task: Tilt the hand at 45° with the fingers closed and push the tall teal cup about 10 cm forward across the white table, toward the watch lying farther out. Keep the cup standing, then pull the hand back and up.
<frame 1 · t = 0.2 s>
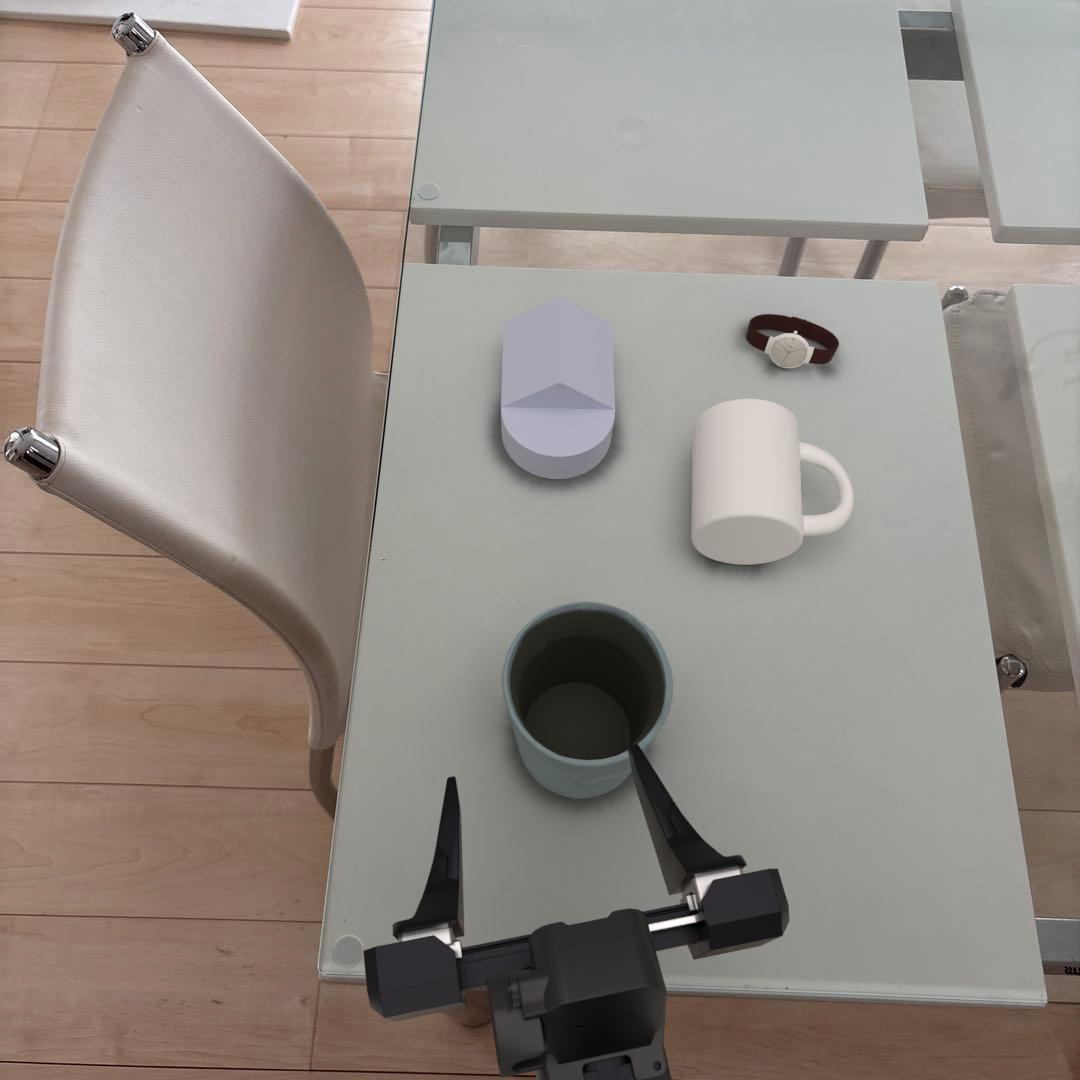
hand: (543, 761, 48), 18 cm above the table, tool horizontal, fingers open, 9 cm apart
watch: (786, 350, 83), on the table
wedge on round base: (556, 413, 79), on the table
teal cup: (575, 736, 67), on the table
mug: (759, 512, 75), on the table
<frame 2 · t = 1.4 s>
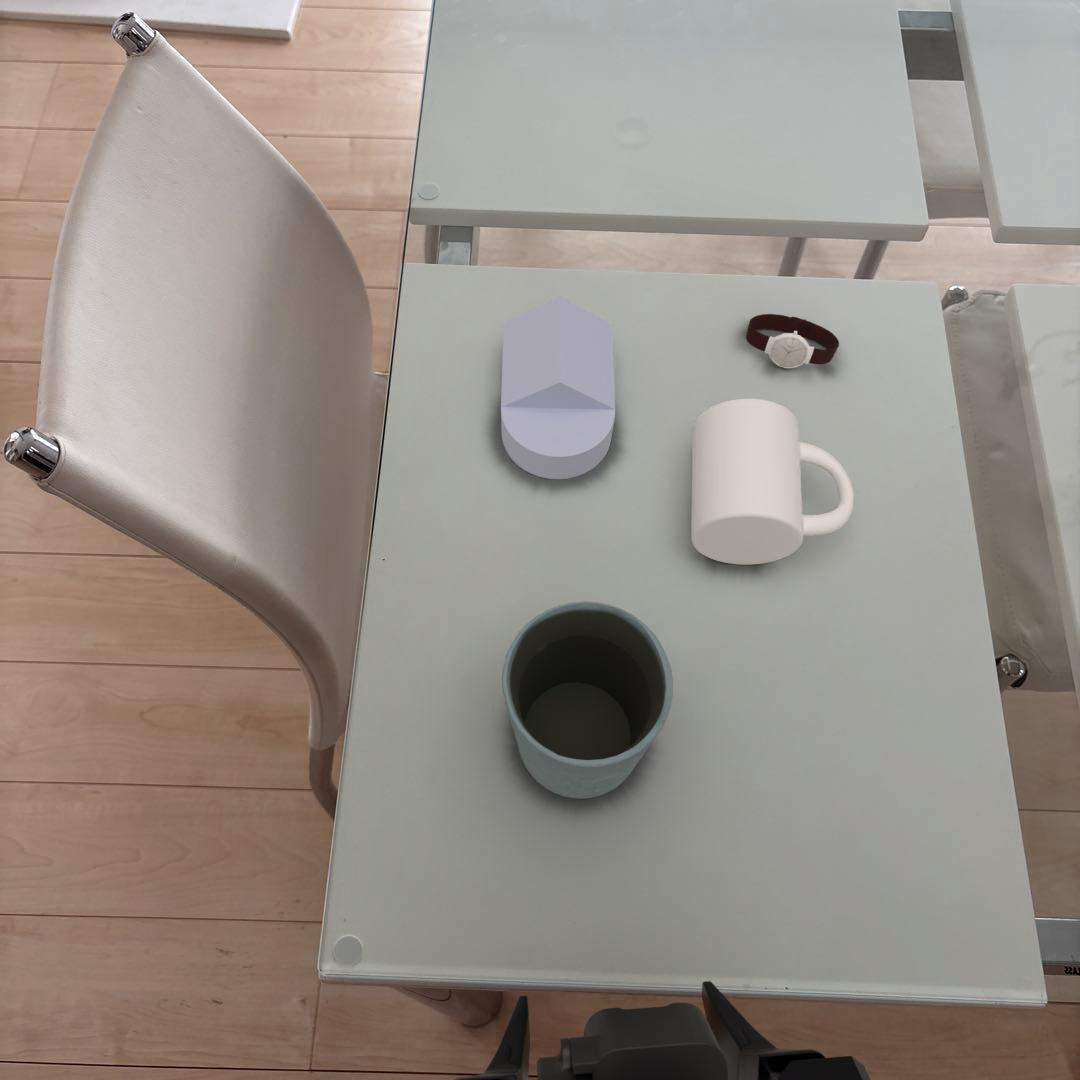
hand: (615, 995, 47), 14 cm above the table, tool tilted 45°, fingers open, 9 cm apart
nothing on the table moved.
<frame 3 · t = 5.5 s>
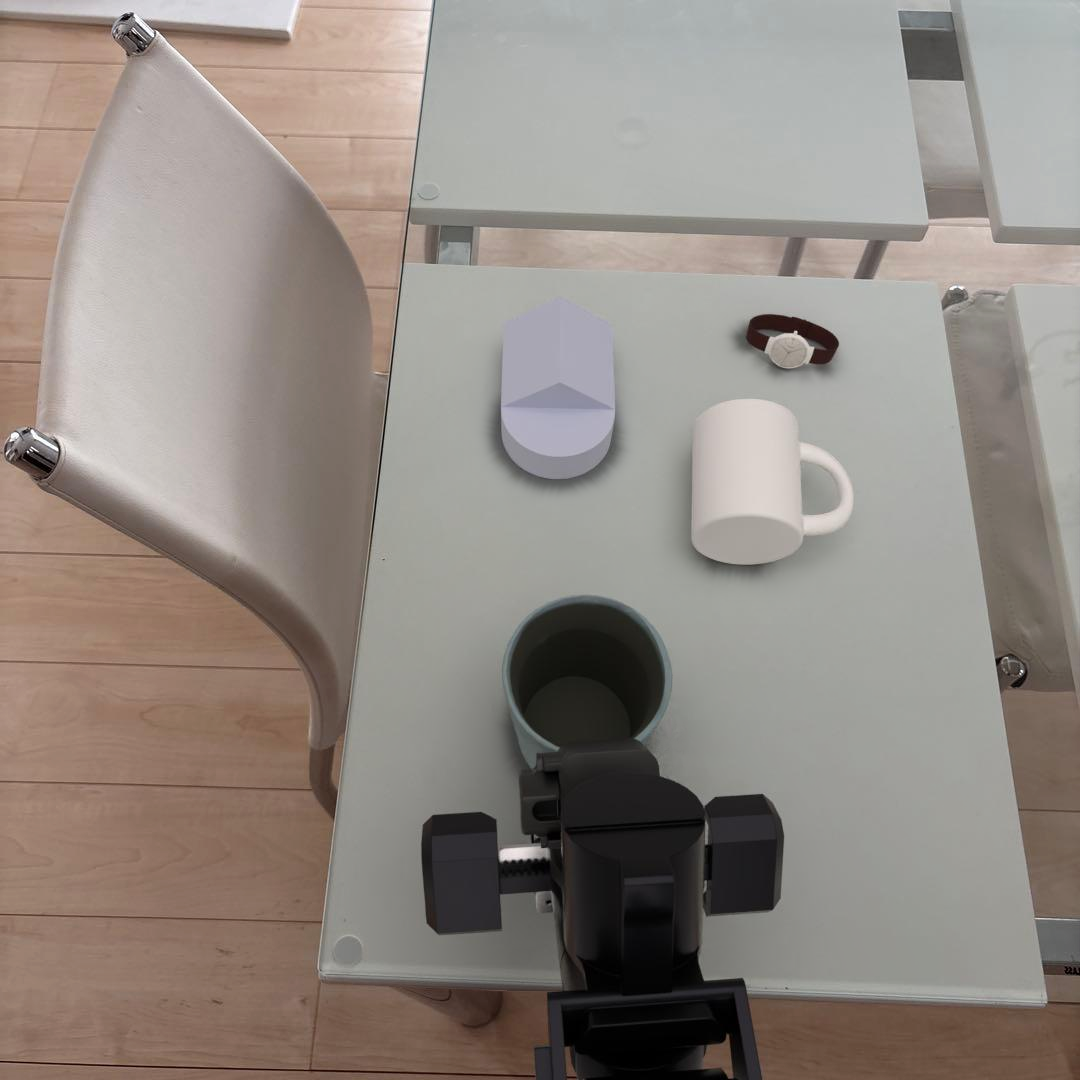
hand: (584, 778, 58), 7 cm above the table, tool tilted 45°, fingers closed, pressing on teal cup
teal cup: (575, 730, 67), on the table, touching gripper
everything else where it was.
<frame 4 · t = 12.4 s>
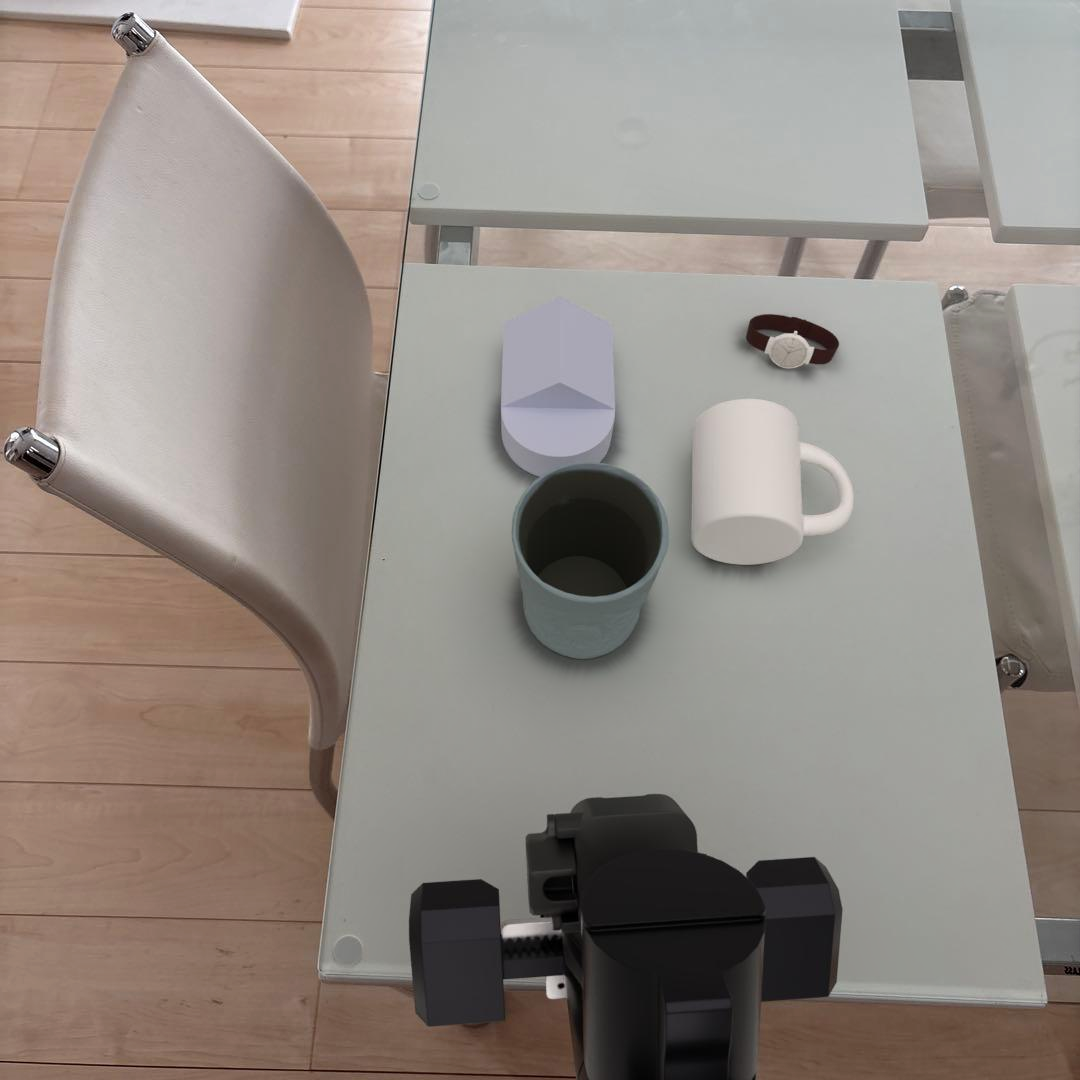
hand: (600, 830, 50), 14 cm above the table, tool tilted 45°, fingers closed
teal cup: (578, 604, 71), on the table
everything else where it was.
at the end: teal cup moved 10.1 cm from its start; teal cup tilted 0° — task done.
